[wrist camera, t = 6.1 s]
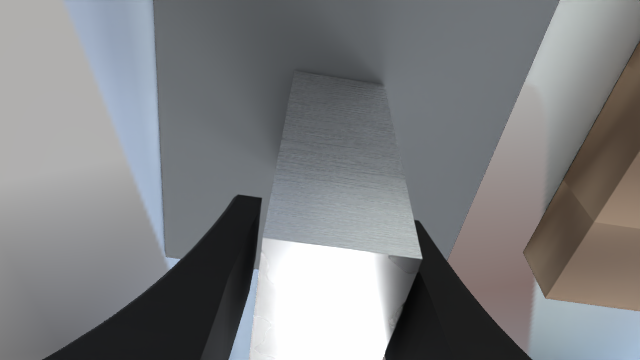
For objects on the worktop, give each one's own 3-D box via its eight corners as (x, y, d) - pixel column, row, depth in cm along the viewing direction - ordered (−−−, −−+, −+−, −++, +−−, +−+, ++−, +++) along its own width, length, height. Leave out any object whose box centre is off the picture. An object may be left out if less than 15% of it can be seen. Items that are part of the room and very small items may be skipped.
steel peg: (384, 85, 15) (422, 259, 9) (359, 182, 17) (374, 377, 11) (294, 70, 15) (263, 237, 8) (281, 170, 17) (248, 363, 11)
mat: (432, 291, 21) (433, 293, 21) (166, 255, 20) (165, 257, 20) (577, -46, 13) (579, -46, 13) (148, -125, 12) (147, -124, 12)
